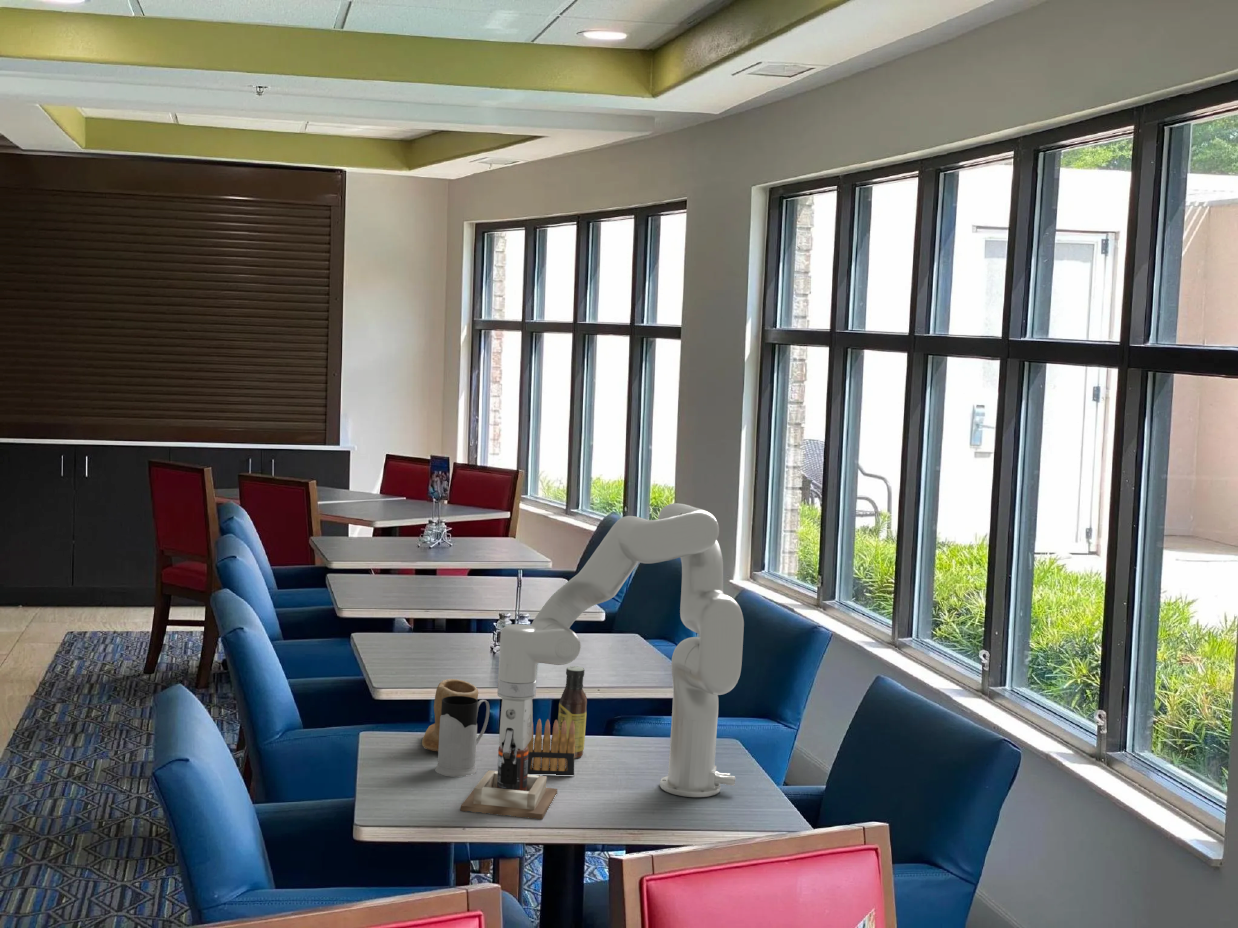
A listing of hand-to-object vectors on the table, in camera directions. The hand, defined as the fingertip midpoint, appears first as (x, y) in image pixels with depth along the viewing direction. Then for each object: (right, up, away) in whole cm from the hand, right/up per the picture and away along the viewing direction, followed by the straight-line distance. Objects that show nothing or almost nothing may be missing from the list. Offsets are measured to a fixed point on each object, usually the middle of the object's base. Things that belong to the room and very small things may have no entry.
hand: (512, 777), depth 264 cm
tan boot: (-17, -2, +36) cm, 39 cm away
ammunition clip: (+6, -4, +20) cm, 21 cm away
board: (0, -5, 0) cm, 5 cm away
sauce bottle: (+10, -3, +34) cm, 36 cm away
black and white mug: (-12, -3, +21) cm, 24 cm away
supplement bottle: (0, -3, 0) cm, 3 cm away
